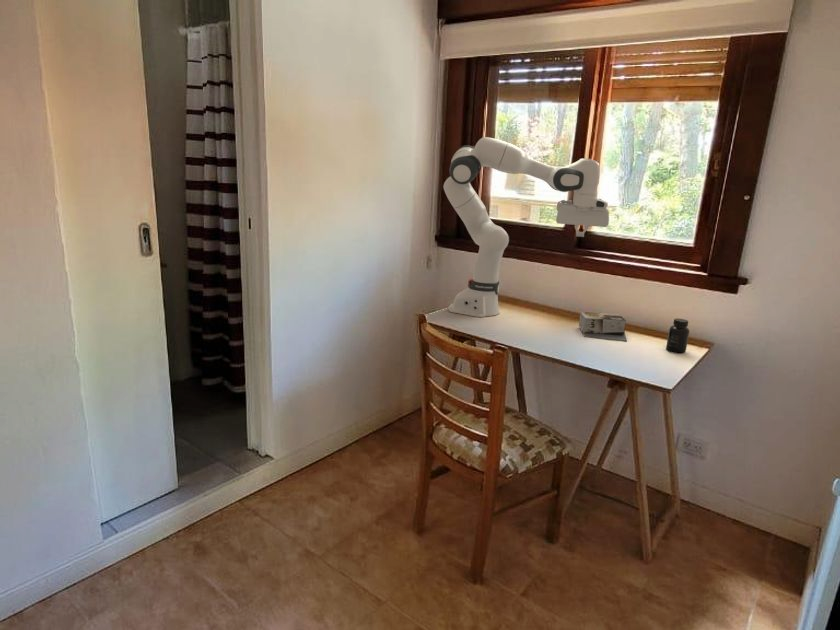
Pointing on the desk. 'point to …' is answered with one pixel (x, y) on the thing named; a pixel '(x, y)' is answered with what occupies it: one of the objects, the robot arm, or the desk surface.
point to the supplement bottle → (678, 336)
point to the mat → (607, 336)
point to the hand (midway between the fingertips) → (580, 236)
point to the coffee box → (602, 323)
